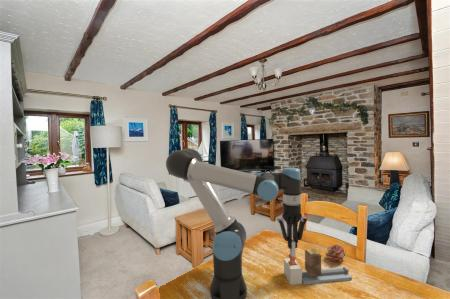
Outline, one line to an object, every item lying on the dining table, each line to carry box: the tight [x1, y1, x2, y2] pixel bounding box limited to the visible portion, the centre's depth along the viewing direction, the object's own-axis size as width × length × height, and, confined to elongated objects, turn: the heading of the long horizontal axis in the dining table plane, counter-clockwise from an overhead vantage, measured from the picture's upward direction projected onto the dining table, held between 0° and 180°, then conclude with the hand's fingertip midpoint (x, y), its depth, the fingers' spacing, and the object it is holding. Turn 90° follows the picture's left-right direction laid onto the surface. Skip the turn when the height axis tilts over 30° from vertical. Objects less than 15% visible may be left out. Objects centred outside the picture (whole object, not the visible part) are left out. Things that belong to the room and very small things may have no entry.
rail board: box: [302, 266, 353, 285], centre depth 96 cm, size 22×7×3 cm, turn 95°
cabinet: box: [283, 257, 303, 286], centre depth 96 cm, size 5×8×7 cm, turn 5°
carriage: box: [304, 248, 322, 276], centre depth 95 cm, size 5×5×10 cm
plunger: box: [288, 253, 297, 266], centre depth 96 cm, size 3×3×6 cm
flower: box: [325, 243, 347, 262], centre depth 108 cm, size 10×9×8 cm
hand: (292, 255), depth 95 cm, fingers closed
